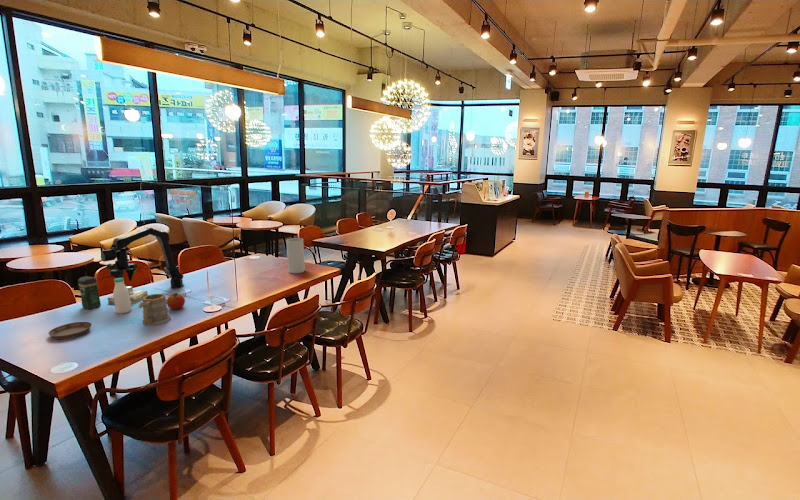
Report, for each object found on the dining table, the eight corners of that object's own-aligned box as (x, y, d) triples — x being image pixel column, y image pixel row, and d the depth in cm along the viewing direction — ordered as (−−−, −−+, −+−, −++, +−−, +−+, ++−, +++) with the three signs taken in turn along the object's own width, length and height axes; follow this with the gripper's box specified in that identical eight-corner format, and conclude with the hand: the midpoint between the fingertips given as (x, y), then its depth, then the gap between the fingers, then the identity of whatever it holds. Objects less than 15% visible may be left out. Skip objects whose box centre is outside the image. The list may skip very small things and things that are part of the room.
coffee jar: (103, 306, 257) (98, 276, 253) (89, 310, 250) (83, 279, 246) (94, 303, 262) (89, 274, 257) (80, 307, 255) (74, 277, 251)
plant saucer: (44, 343, 207) (42, 338, 207) (55, 330, 223) (54, 324, 222) (87, 337, 214) (86, 331, 213) (96, 324, 230) (95, 319, 229)
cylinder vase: (302, 273, 323) (301, 241, 318) (286, 273, 323) (284, 241, 318) (306, 269, 335) (304, 238, 330) (290, 269, 336) (288, 238, 330)
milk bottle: (134, 310, 250) (129, 277, 246) (122, 314, 243) (117, 280, 239) (125, 308, 253) (119, 275, 248) (112, 313, 246) (107, 279, 241)
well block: (147, 295, 275) (147, 290, 275) (134, 303, 262) (134, 297, 261) (123, 295, 275) (122, 290, 275) (108, 303, 262) (107, 297, 261)
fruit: (182, 304, 260) (180, 288, 257) (188, 308, 253) (186, 292, 251) (165, 308, 253) (163, 292, 251) (170, 312, 247) (168, 295, 244)
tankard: (152, 316, 241) (149, 291, 237) (174, 316, 240) (171, 291, 237) (129, 331, 221) (125, 303, 218) (153, 331, 221) (149, 303, 217)
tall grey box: (134, 298, 270) (132, 286, 268) (131, 300, 267) (129, 287, 265) (126, 298, 270) (124, 286, 268) (123, 300, 267) (121, 288, 265)
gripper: (118, 254, 272) (122, 278, 275) (98, 262, 253) (102, 287, 257) (136, 254, 272) (139, 278, 275) (117, 262, 253) (121, 287, 257)
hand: (125, 282), depth 266 cm, fingers open, 9 cm apart
